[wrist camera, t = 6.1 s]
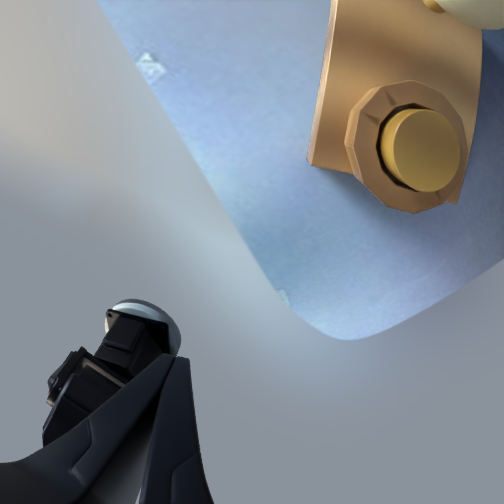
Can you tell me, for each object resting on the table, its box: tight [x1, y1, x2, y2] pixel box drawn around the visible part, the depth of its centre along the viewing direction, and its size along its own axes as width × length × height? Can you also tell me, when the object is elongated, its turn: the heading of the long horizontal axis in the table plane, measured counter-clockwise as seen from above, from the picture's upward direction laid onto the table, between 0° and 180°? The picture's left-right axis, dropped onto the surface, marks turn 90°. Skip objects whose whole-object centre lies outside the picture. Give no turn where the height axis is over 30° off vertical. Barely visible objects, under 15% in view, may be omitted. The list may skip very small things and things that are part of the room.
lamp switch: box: [380, 109, 461, 192], centre depth 12 cm, size 4×4×2 cm
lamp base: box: [307, 0, 482, 214], centre depth 12 cm, size 15×10×4 cm
